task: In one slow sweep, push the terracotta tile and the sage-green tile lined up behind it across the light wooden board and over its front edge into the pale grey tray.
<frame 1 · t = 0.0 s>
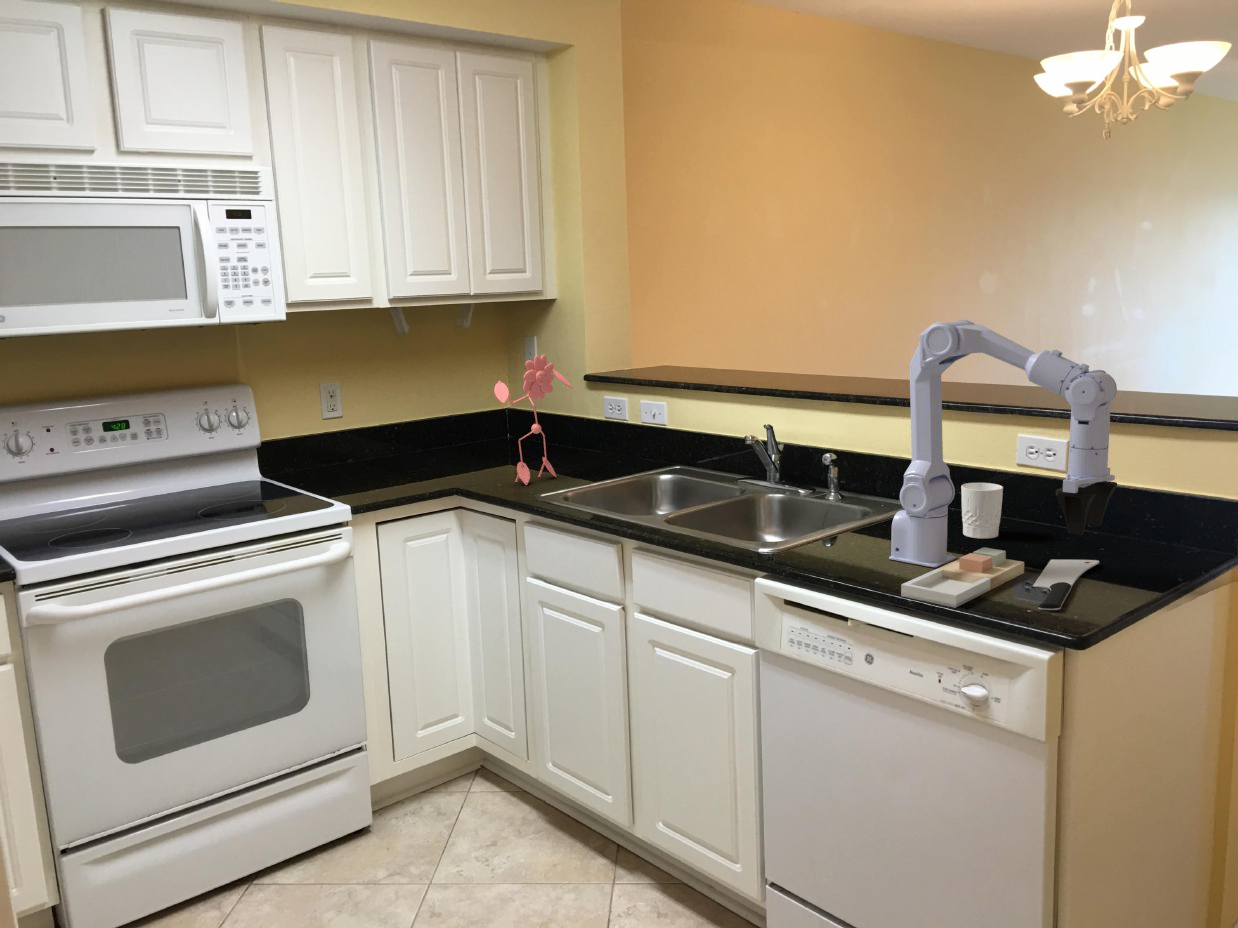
hand: (1084, 529, 162), 10 cm above the worktop, tool pointing down, fingers open, 7 cm apart
sage tile: (989, 562, 174), point 2 cm above the worktop, touching wooden board
white cup: (980, 535, 201), on the worktop
grey tray: (945, 593, 164), on the worktop
kitchen cleaver: (1053, 587, 167), on the worktop
terracotta tile: (975, 568, 170), point 2 cm above the worktop, touching wooden board
figurine: (544, 483, 272), on the worktop
wooden board: (980, 576, 172), on the worktop
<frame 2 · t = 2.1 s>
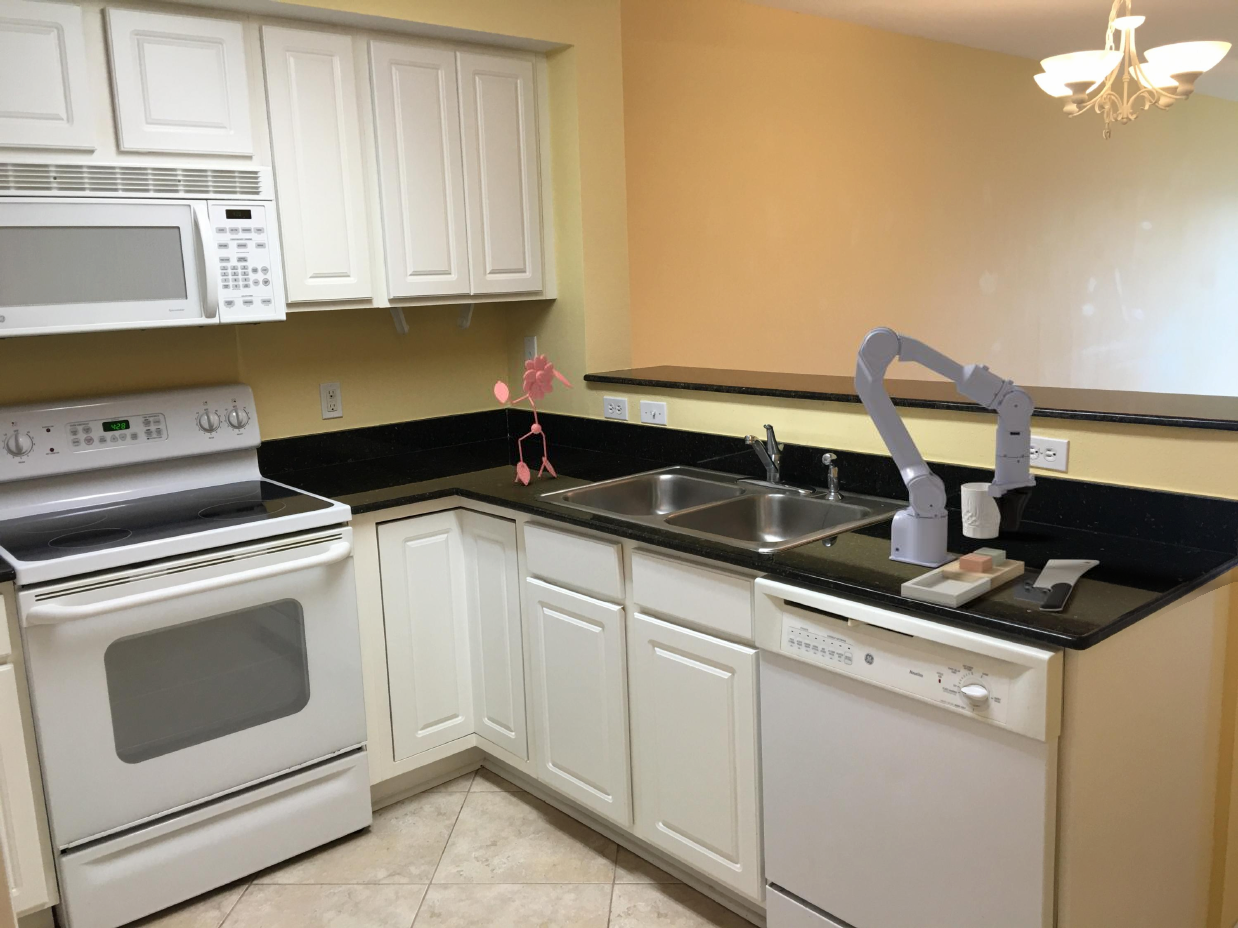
hand: (1010, 529, 178), 6 cm above the worktop, tool pointing down, fingers closed
nothing on the worktop moved.
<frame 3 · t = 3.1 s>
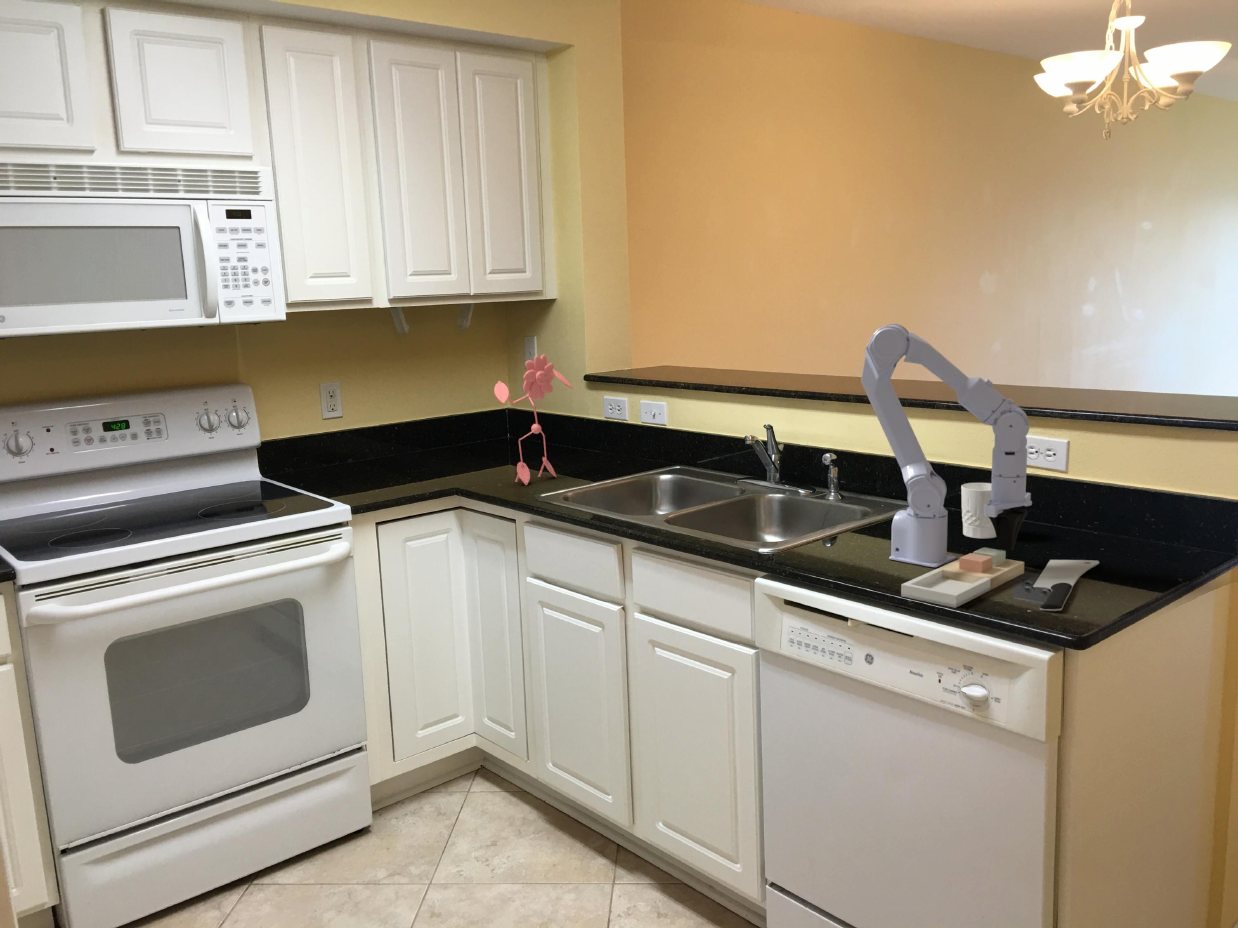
hand: (1006, 549, 178), 3 cm above the worktop, tool pointing down, fingers closed
nothing on the worktop moved.
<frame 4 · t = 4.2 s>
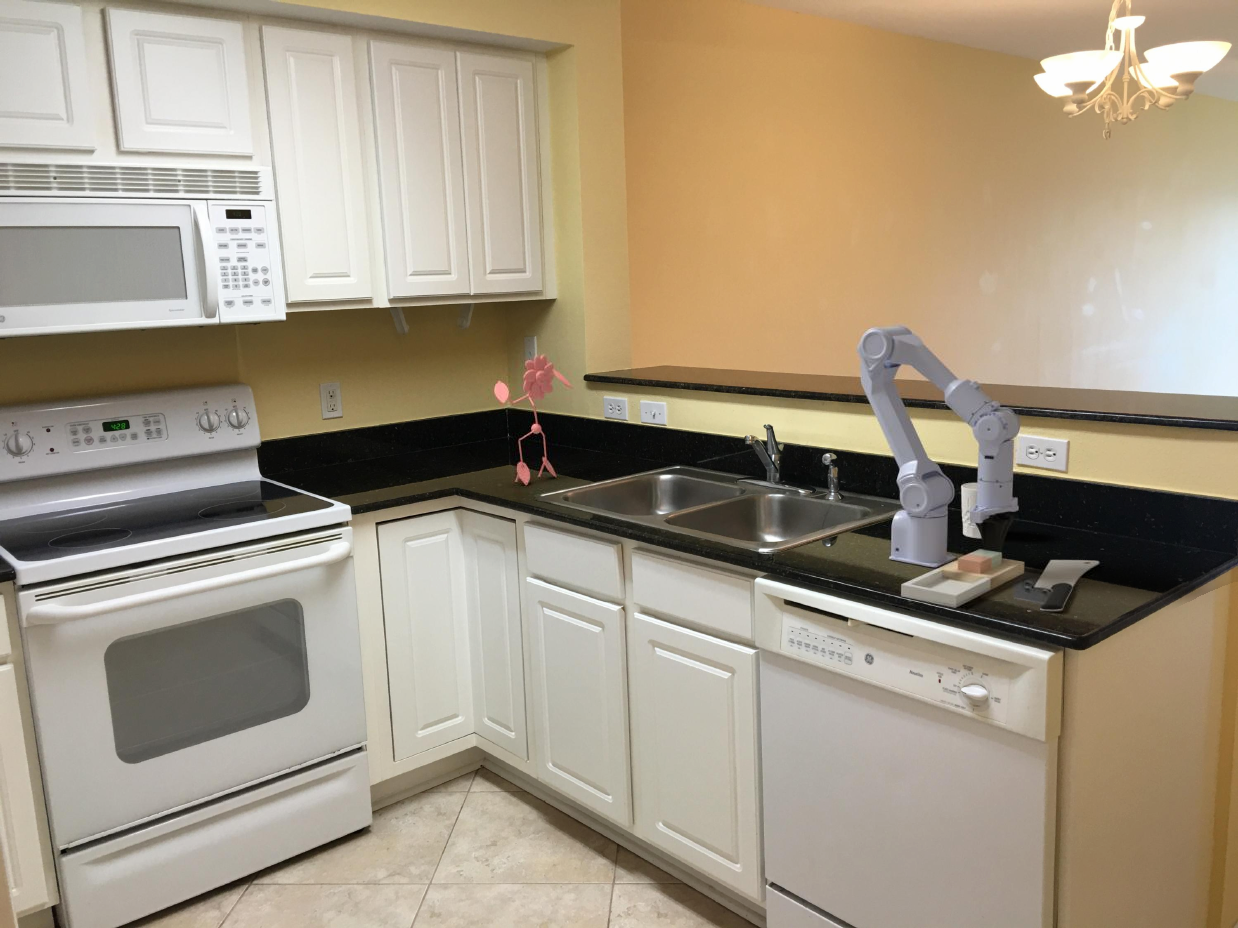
hand: (992, 555, 174), 3 cm above the worktop, tool pointing down, fingers closed
sage tile: (985, 564, 172), point 2 cm above the worktop, touching gripper, terracotta tile
terracotta tile: (974, 569, 170), point 2 cm above the worktop, touching sage tile
everything else where it was.
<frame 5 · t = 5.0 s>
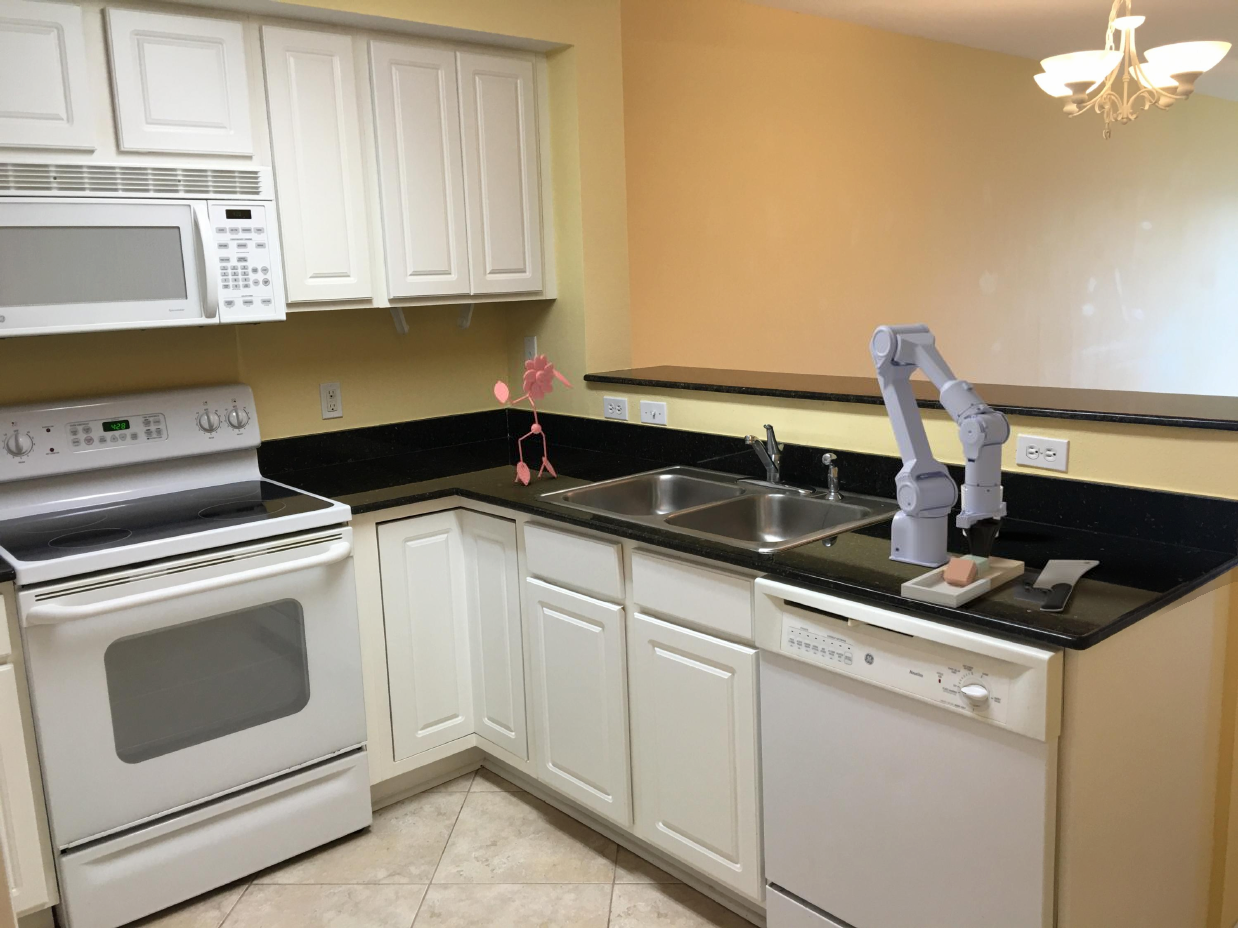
hand: (980, 560, 171), 3 cm above the worktop, tool pointing down, fingers closed
sage tile: (972, 570, 169), point 2 cm above the worktop, touching gripper
terracotta tile: (962, 575, 167), point 2 cm above the worktop, tilted 44°, touching grey tray
everything else where it was.
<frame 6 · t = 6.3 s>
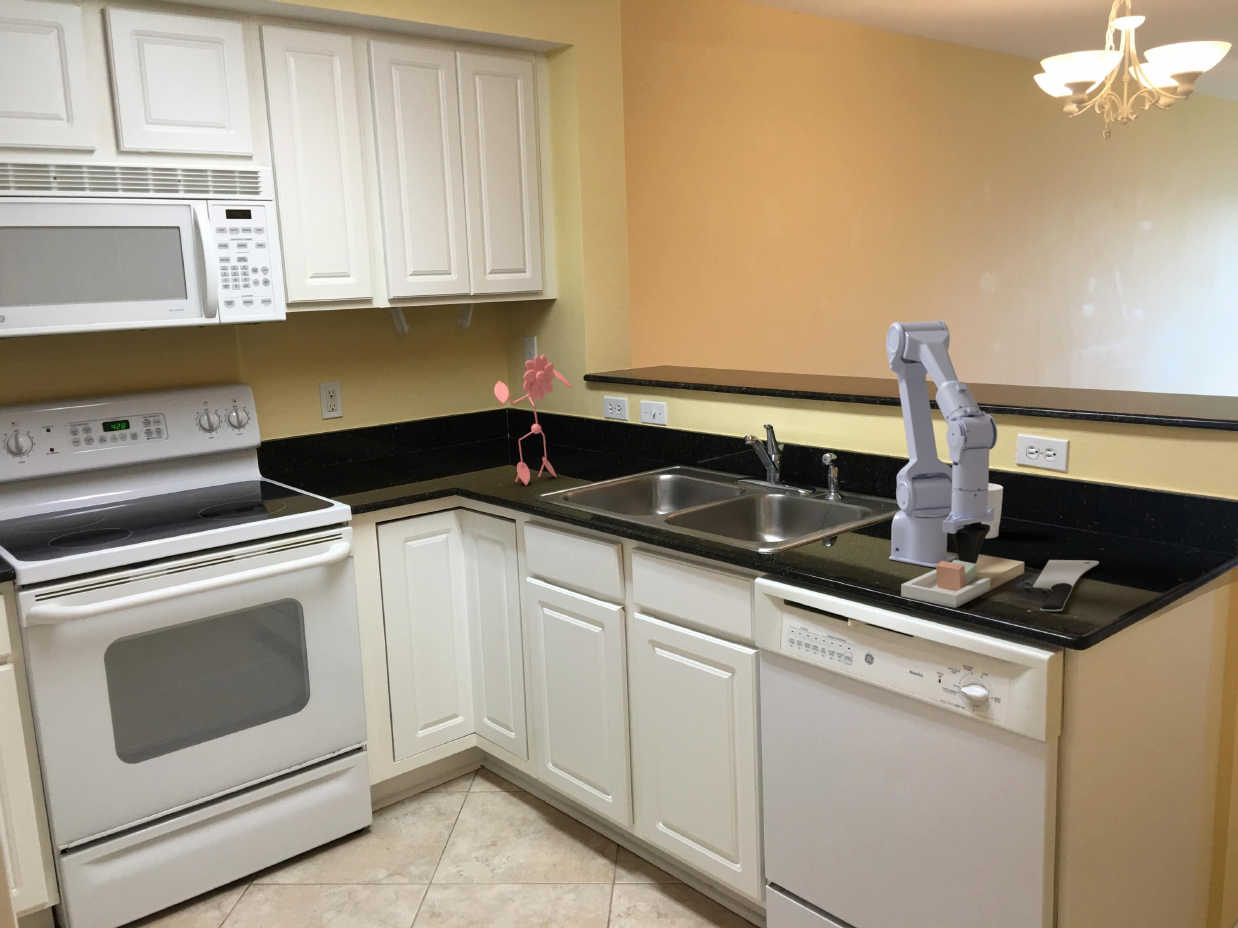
hand: (967, 566, 168), 3 cm above the worktop, tool pointing down, fingers closed
sage tile: (960, 577, 166), point 2 cm above the worktop, tilted 11°, touching gripper, terracotta tile
terracotta tile: (953, 573, 165), point 3 cm above the worktop, tilted 101°, touching sage tile
everything else where it was.
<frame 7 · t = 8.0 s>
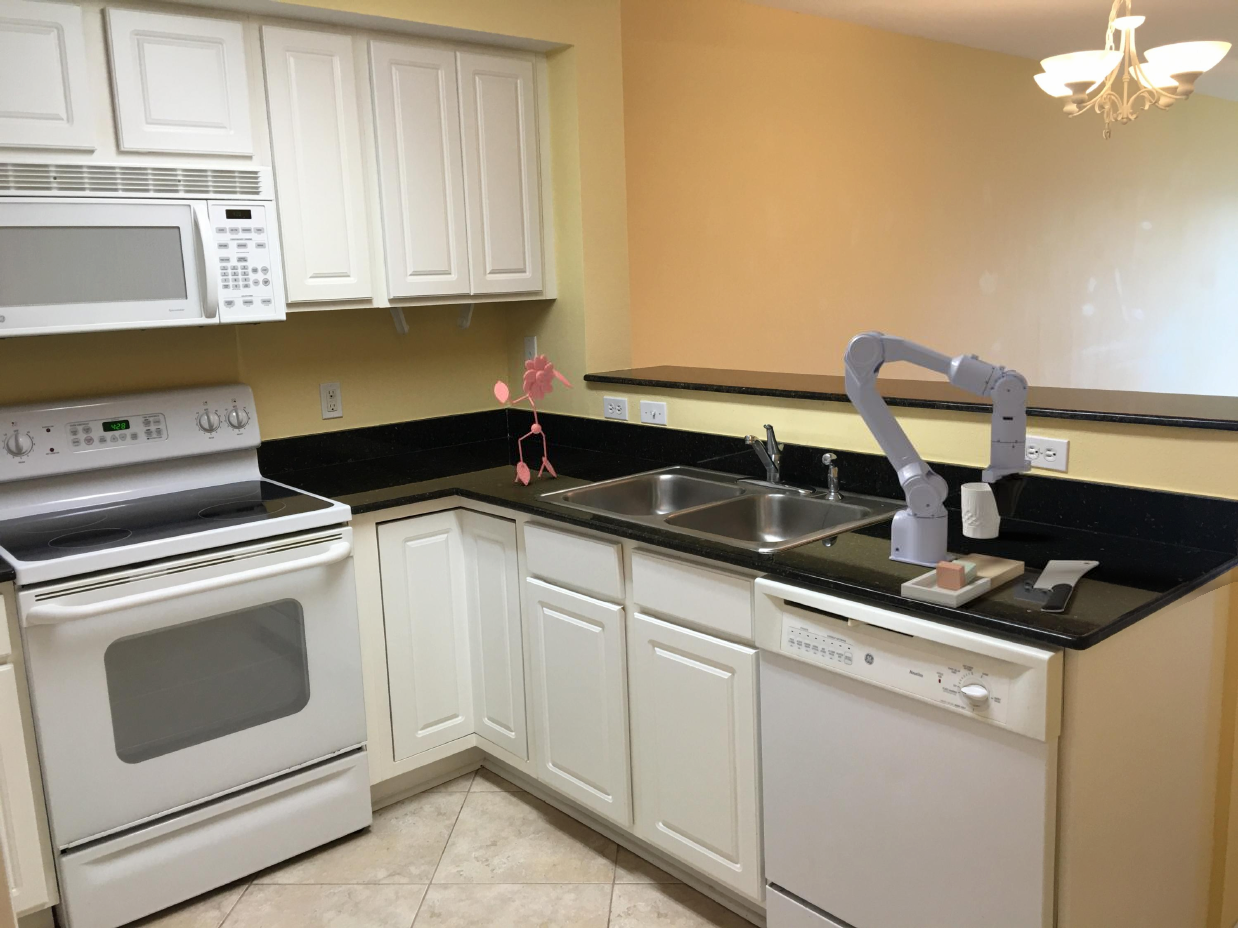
hand: (1005, 516, 176), 9 cm above the worktop, tool pointing down, fingers closed
sage tile: (960, 577, 166), point 2 cm above the worktop, tilted 11°, touching terracotta tile, wooden board
terracotta tile: (953, 573, 165), point 3 cm above the worktop, tilted 101°, touching grey tray, sage tile
everything else where it was.
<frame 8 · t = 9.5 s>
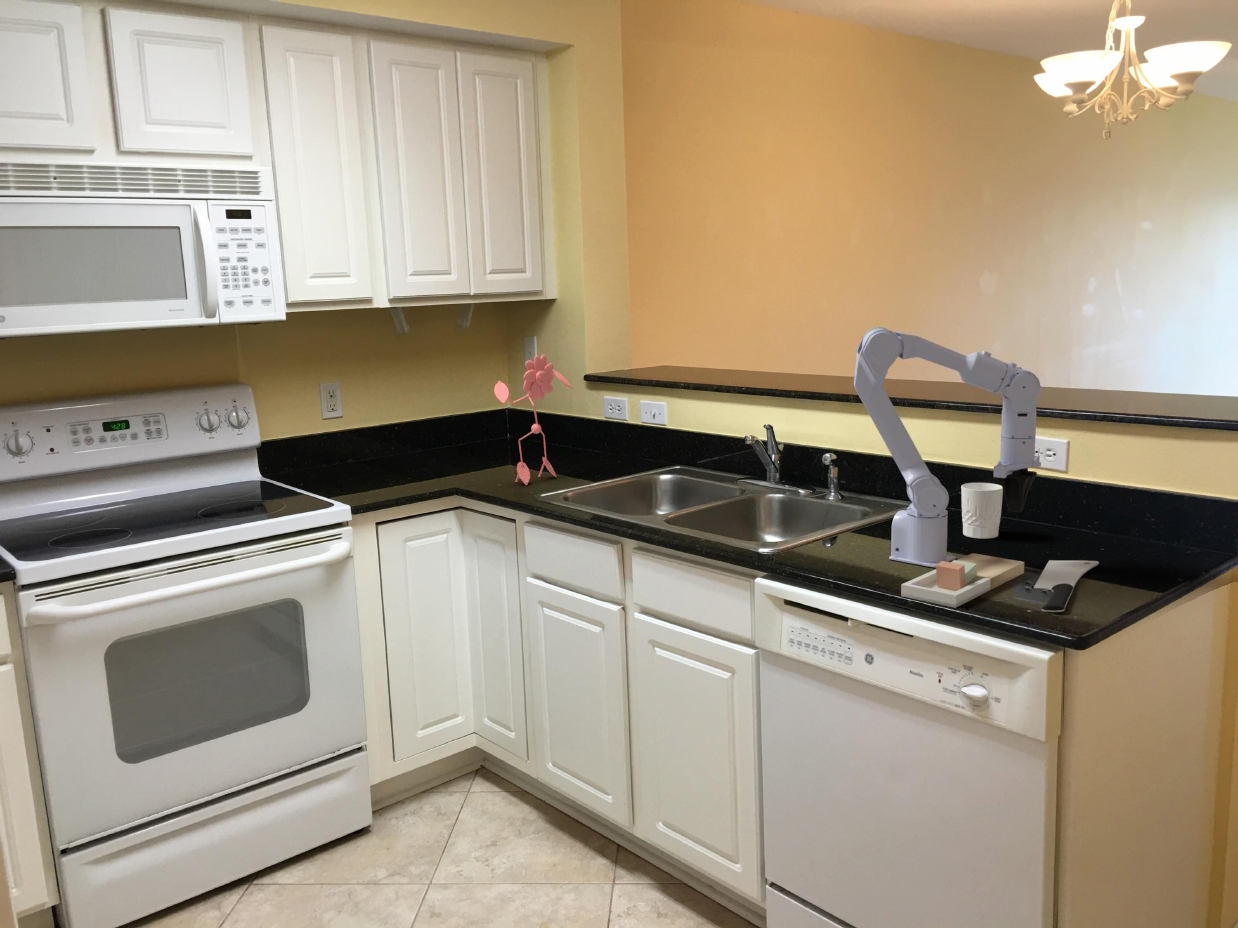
hand: (1015, 511, 179), 9 cm above the worktop, tool pointing down, fingers closed
nothing on the worktop moved.
at the end: terracotta tile inside the target area (2.5 cm from its centre), point 2.8 cm above the worktop; sage tile inside the target area (4.8 cm from its centre), point 1.7 cm above the worktop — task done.
